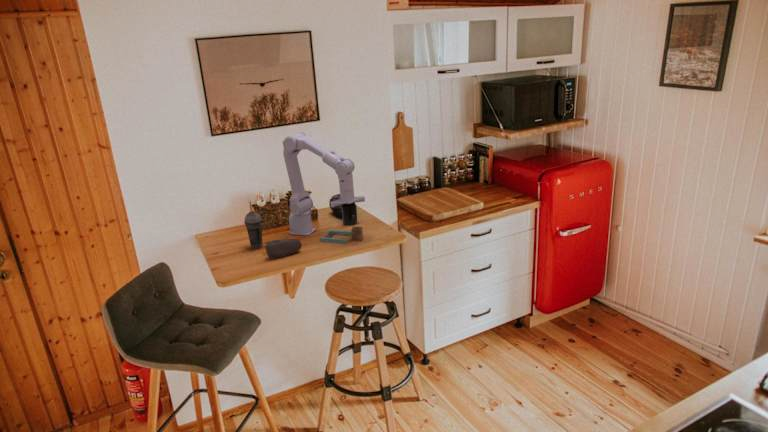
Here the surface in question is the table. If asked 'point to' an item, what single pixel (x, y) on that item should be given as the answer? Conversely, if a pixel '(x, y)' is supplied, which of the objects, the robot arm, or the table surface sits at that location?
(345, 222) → the supplement bottle
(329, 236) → the channel
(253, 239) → the beverage cup
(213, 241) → the table surface
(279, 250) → the perforated stone tool
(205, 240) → the table surface
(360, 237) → the walnut block
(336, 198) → the pine cone
